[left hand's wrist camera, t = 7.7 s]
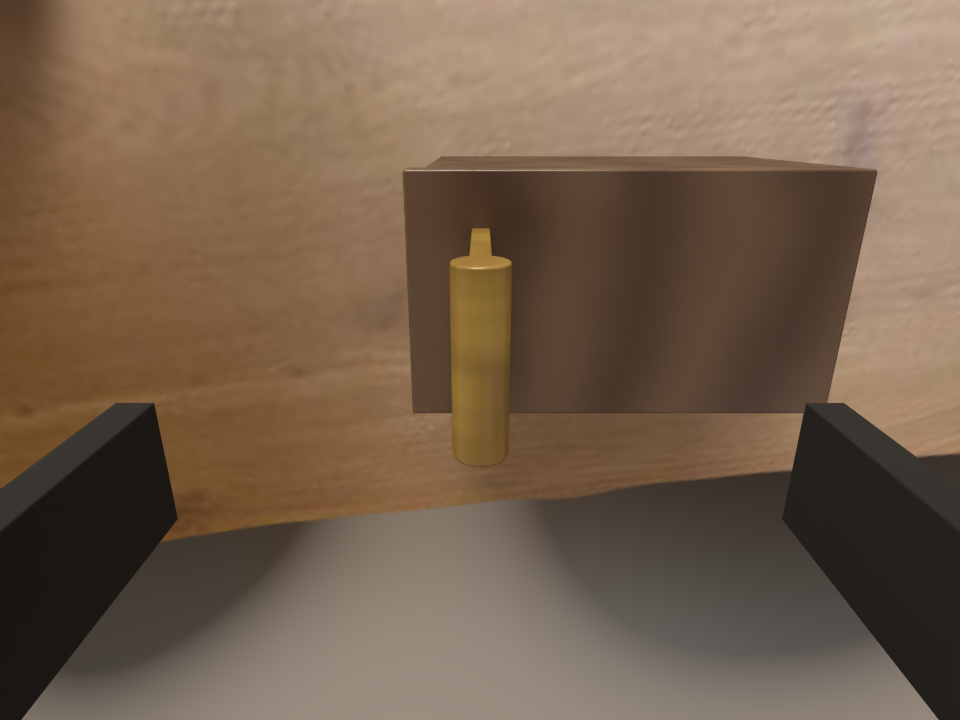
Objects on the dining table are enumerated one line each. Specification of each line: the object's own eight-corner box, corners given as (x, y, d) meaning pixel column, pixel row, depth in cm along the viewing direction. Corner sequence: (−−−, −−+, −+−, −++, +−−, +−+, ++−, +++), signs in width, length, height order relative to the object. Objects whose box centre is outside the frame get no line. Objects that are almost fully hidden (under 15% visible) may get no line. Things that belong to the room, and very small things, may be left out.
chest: (444, 327, 38) (430, 400, 27) (440, 156, 34) (423, 167, 24) (719, 327, 38) (809, 400, 27) (744, 156, 34) (857, 167, 24)
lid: (415, 401, 27) (385, 525, 19) (406, 167, 24) (364, 187, 15) (810, 401, 27) (961, 525, 19) (858, 167, 24) (1072, 188, 15)
